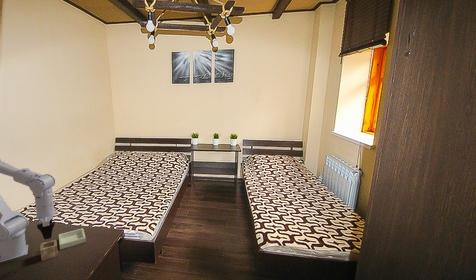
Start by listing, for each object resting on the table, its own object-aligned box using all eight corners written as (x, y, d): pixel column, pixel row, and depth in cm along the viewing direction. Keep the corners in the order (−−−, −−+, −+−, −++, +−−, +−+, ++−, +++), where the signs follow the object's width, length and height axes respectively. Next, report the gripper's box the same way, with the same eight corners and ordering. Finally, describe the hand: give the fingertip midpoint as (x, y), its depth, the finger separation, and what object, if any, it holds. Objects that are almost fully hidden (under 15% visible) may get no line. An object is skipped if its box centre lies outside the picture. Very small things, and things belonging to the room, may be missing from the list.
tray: (60, 250, 104) (59, 245, 103) (59, 239, 111) (58, 234, 111) (86, 242, 110) (85, 237, 110) (83, 232, 117) (83, 228, 117)
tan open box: (36, 262, 96) (35, 251, 95) (37, 255, 100) (36, 244, 99) (57, 256, 100) (56, 245, 99) (57, 249, 104) (56, 239, 103)
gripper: (57, 208, 93) (60, 239, 96) (56, 196, 104) (58, 223, 107) (34, 213, 89) (37, 245, 91) (35, 199, 100) (38, 228, 102)
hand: (47, 234), depth 99 cm, fingers open, 7 cm apart
